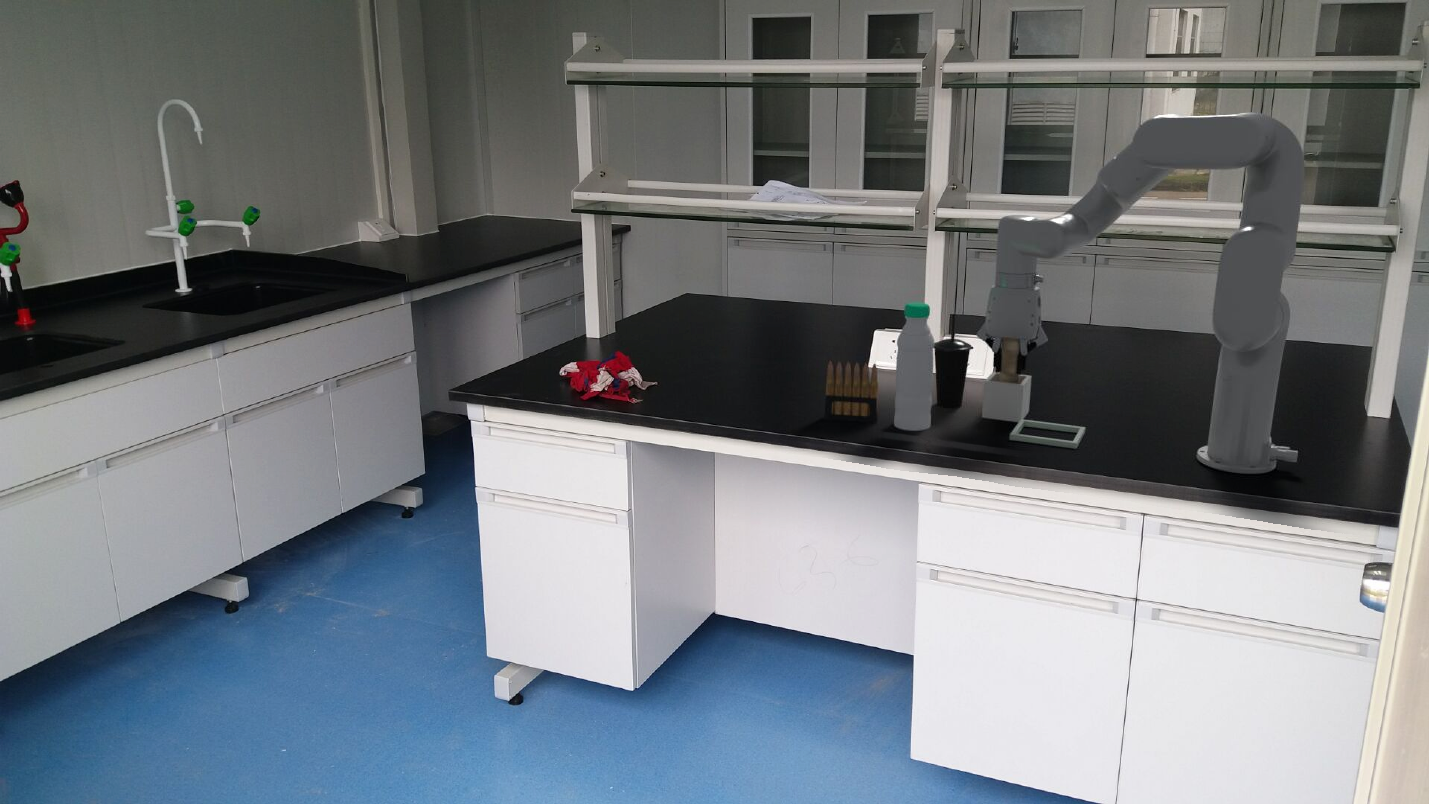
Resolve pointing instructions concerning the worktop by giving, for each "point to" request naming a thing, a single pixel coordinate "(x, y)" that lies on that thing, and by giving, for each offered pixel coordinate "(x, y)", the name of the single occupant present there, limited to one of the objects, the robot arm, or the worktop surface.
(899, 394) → the water bottle
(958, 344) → the drinking cup
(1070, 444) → the tray
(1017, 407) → the holder
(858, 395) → the ammunition clip
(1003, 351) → the dowel
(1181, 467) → the worktop surface
